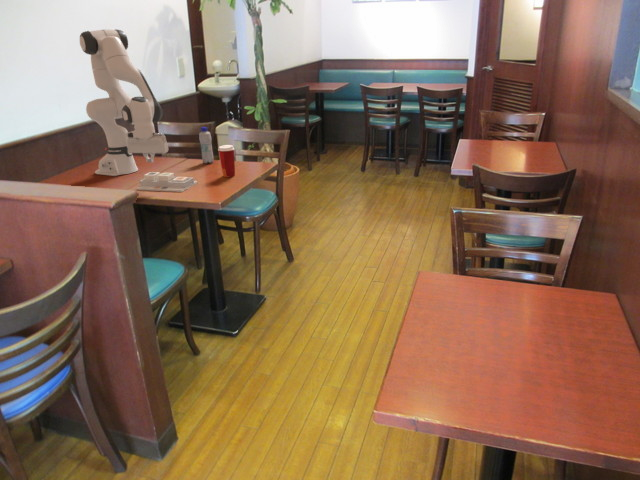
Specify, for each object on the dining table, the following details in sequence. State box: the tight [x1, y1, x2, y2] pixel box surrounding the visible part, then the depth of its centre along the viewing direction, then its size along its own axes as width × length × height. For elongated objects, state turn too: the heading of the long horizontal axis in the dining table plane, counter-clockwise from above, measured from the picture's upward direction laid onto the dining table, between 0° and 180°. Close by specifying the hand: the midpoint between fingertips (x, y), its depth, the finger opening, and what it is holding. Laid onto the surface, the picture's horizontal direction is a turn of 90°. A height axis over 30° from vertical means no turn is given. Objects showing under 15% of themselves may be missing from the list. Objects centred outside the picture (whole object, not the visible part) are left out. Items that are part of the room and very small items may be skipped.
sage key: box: [158, 172, 176, 182], centre depth 244 cm, size 6×6×3 cm
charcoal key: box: [143, 171, 162, 181], centre depth 246 cm, size 6×6×3 cm
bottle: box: [198, 126, 214, 164], centre depth 283 cm, size 7×7×20 cm
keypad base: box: [136, 176, 198, 193], centre depth 245 cm, size 24×15×4 cm, turn 74°
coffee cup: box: [217, 144, 236, 178], centre depth 256 cm, size 8×8×15 cm
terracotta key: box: [172, 176, 190, 182], centre depth 242 cm, size 6×6×3 cm
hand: (150, 162), depth 243 cm, fingers closed
